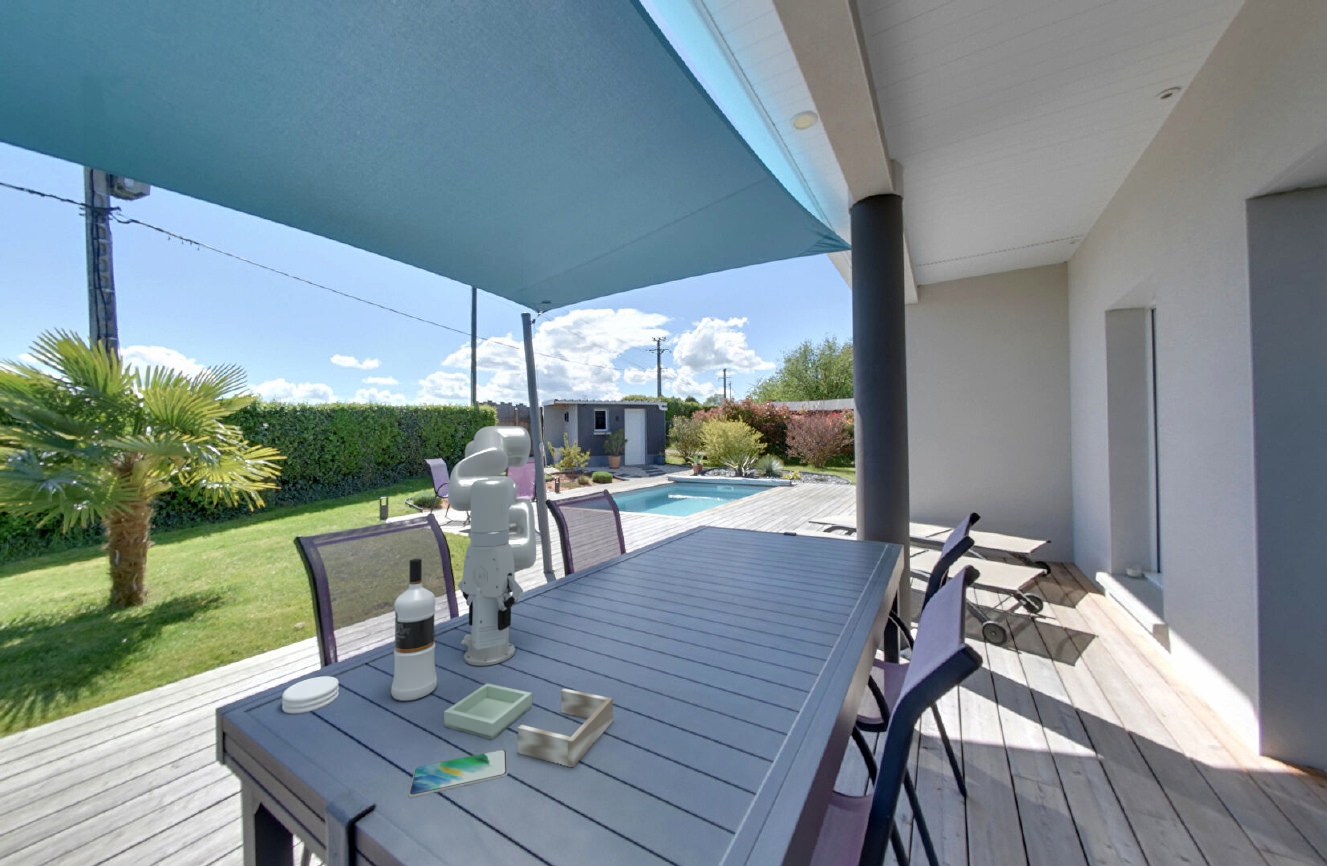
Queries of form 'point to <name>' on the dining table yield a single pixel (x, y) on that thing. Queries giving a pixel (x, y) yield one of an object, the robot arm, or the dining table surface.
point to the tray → (488, 710)
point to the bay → (579, 743)
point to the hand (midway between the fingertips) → (489, 625)
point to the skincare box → (486, 622)
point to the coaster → (310, 694)
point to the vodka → (414, 639)
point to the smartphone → (458, 773)
